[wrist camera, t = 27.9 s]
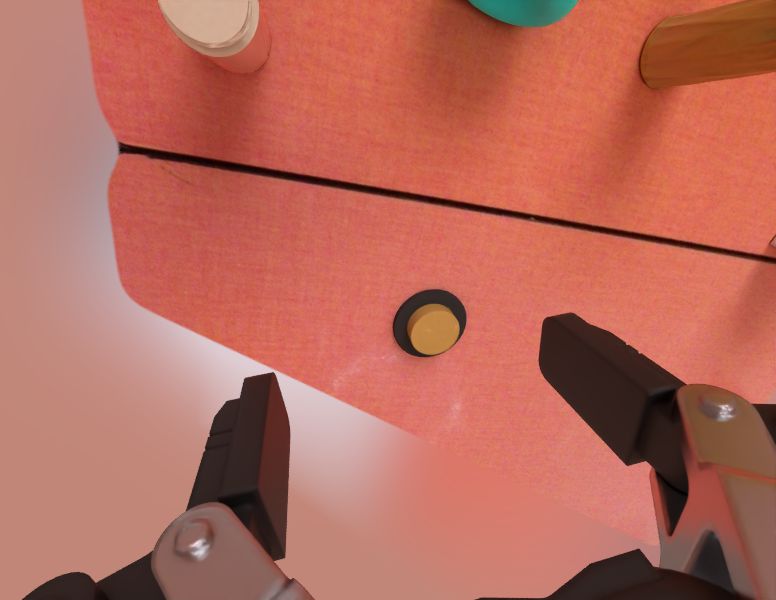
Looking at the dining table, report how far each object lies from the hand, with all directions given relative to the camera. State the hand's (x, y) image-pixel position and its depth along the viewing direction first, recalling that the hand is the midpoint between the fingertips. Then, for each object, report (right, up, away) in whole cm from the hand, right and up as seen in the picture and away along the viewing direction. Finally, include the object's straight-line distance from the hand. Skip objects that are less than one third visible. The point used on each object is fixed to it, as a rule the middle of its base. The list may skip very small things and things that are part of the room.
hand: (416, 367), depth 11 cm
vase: (+27, +26, +25) cm, 45 cm away
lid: (+4, -2, +31) cm, 32 cm away
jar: (-13, +23, +18) cm, 32 cm away
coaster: (+4, -1, +33) cm, 34 cm away
